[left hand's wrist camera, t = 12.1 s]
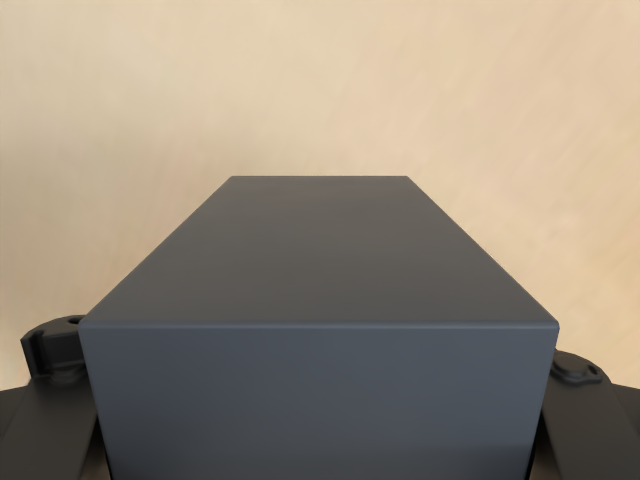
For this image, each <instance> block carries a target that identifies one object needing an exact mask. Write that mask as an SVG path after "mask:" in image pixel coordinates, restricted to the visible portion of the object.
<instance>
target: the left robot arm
mask: <svg viewBox="0 0 640 480" xmlns="http://www.w3.org/2000/svg"><path fill="white" fill-rule="evenodd" d="M85 316H86V315H73V316H67V317H62V318H58V319H54V320H52V321H49V322H46V323H44V324H41V325H39V326H37V327H36V328H34V329H32V330H30V331H29V332H28V333H27V334H26V335H25V336H23V337H22V338H21V339H20V341H21V344H22V348H23V351H24V355H25V358H26V361H27V365H28V368H29V371H30V375H31V380H30V382H29V384H28V385H27V386H23V387H18V388H13V389H8V390H3V391H0V480H113V478H112V474H111V469H110V465H109V461H108V457H107V452H106V448H105V444H104V440H103V435H102V431H101V427H100V423H99V418H98V414H97V410H96V406H95V401H94V397H93V393H92V388H91V384H90V380H89V376H88V371H87V367H86V363H85V359H84V354H83V350H82V346H81V342H80V337H79V333H78V324H79V321H80V320H81V319H83V318H84V317H85ZM525 480H640V389H636V388H631V387H626V386H621V385H617V384H613V383H611V381H610V379H609V377H608V376H607V375H606V374H605V373H604V372H603V370H602V369H601V368H599V367H598V366H596V365H595V364H593V363H592V362H591V361H589V360H587V359H584V358H582V357H580V356H577V355H575V354H571V353H567V352H563V351H558V350H557V349H556V348H555V351H554V355H553V359H552V364H551V368H550V372H549V377H548V381H547V385H546V390H545V394H544V398H543V403H542V407H541V411H540V416H539V420H538V424H537V429H536V433H535V437H534V441H533V446H532V450H531V454H530V459H529V463H528V467H527V472H526V476H525Z"/></svg>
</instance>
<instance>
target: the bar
mask: <svg viewBox="0 0 640 480" xmlns="http://www.w3.org/2000/svg"><path fill="white" fill-rule="evenodd" d="M559 329H560V328H559V323H558V321H557V320H556V319H555V318H554V317H553V316H552V315H551V314H550V313H549V312H548V311H547V310H546V309H544V308H543V307H542V306H541V305H540V304H539V303H538V302H537V301H536V300H535V299H534V298H533V297H532V296H531V295H530V294H529V293H528V292H527V291H526V290H525V289H524V288H523V287H522V286H521V285H520V284H519V283H518V282H516V281H515V280H514V279H513V278H512V277H511V276H510V275H509V274H508V273H507V272H506V271H505V270H504V269H503V268H502V267H501V266H500V265H499V264H498V263H497V262H496V261H495V260H494V259H493V258H492V257H491V256H490V255H488V254H487V253H486V252H485V251H484V250H483V249H482V248H481V247H480V246H479V245H478V244H477V243H476V242H475V241H474V240H473V239H472V238H471V237H470V236H469V235H468V234H467V233H466V232H465V231H464V230H463V229H462V228H461V227H459V226H458V225H457V224H456V223H455V222H454V221H453V220H452V219H451V218H450V217H449V216H448V215H447V214H446V213H445V212H444V211H443V210H442V209H441V208H440V207H439V206H438V205H437V204H436V203H435V202H434V201H433V200H431V199H430V198H429V197H428V196H427V195H426V194H425V193H424V192H423V191H422V190H421V189H420V188H419V187H418V186H417V185H416V184H415V183H414V182H413V181H412V180H411V179H410V178H409V177H407V176H232V177H230V178H229V179H228V180H227V181H226V182H225V183H224V184H223V185H222V186H221V187H220V188H219V189H218V190H217V191H215V192H214V193H213V194H212V195H211V196H210V197H209V198H208V199H207V200H206V201H205V202H204V203H203V204H202V205H201V206H200V207H199V208H198V209H197V210H196V211H195V212H193V213H192V214H191V215H190V216H189V217H188V218H187V219H186V220H185V221H184V222H183V223H182V224H181V225H180V226H179V227H178V228H177V229H176V230H175V231H174V232H173V233H172V234H170V235H169V236H168V237H167V238H166V239H165V240H164V241H163V242H162V243H161V244H160V245H159V246H158V247H157V248H156V249H155V250H154V251H153V252H152V253H151V254H150V255H148V256H147V257H146V258H145V259H144V260H143V261H142V262H141V263H140V264H139V265H138V266H137V267H136V268H135V269H134V270H133V271H132V272H131V273H130V274H129V275H128V276H126V277H125V278H124V279H123V280H122V281H121V282H120V283H119V284H118V285H117V286H116V287H115V288H114V289H113V290H112V291H111V292H110V293H109V294H108V295H107V296H106V297H104V298H103V299H102V300H101V301H100V302H99V303H98V304H97V305H96V306H95V307H94V308H93V309H92V310H91V311H90V312H89V313H88V314H87V315H86V316H85V317H84V318H83V319H81V320H80V321H79V324H78V333H79V337H80V342H81V346H82V350H83V354H84V359H85V363H86V367H87V371H88V376H89V380H90V384H91V388H92V393H93V397H94V401H95V406H96V410H97V414H98V418H99V423H100V427H101V431H102V435H103V440H104V444H105V448H106V452H107V457H108V461H109V465H110V469H111V474H112V478H113V480H525V476H526V472H527V467H528V463H529V459H530V454H531V450H532V446H533V441H534V437H535V433H536V429H537V424H538V420H539V416H540V411H541V407H542V403H543V398H544V394H545V390H546V385H547V381H548V377H549V372H550V368H551V364H552V359H553V355H554V351H555V346H556V342H557V338H558V333H559Z"/></svg>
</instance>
